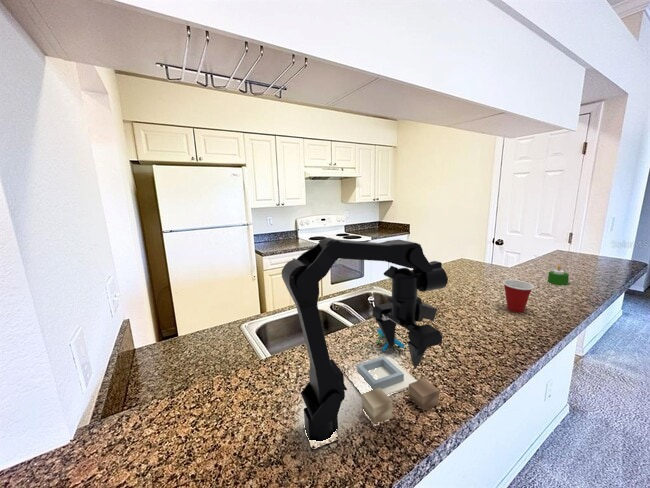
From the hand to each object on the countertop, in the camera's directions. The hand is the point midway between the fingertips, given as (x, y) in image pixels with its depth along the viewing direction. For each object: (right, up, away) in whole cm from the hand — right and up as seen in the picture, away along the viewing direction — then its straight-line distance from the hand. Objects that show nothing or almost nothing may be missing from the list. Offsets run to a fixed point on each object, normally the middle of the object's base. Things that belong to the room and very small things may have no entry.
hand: (402, 355), depth 66 cm
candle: (+107, +6, +81) cm, 134 cm away
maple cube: (-6, -14, -1) cm, 15 cm away
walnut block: (+6, -13, +3) cm, 14 cm away
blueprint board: (-3, -11, +12) cm, 17 cm away
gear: (+3, -9, +27) cm, 29 cm away
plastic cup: (+63, -1, +51) cm, 81 cm away
